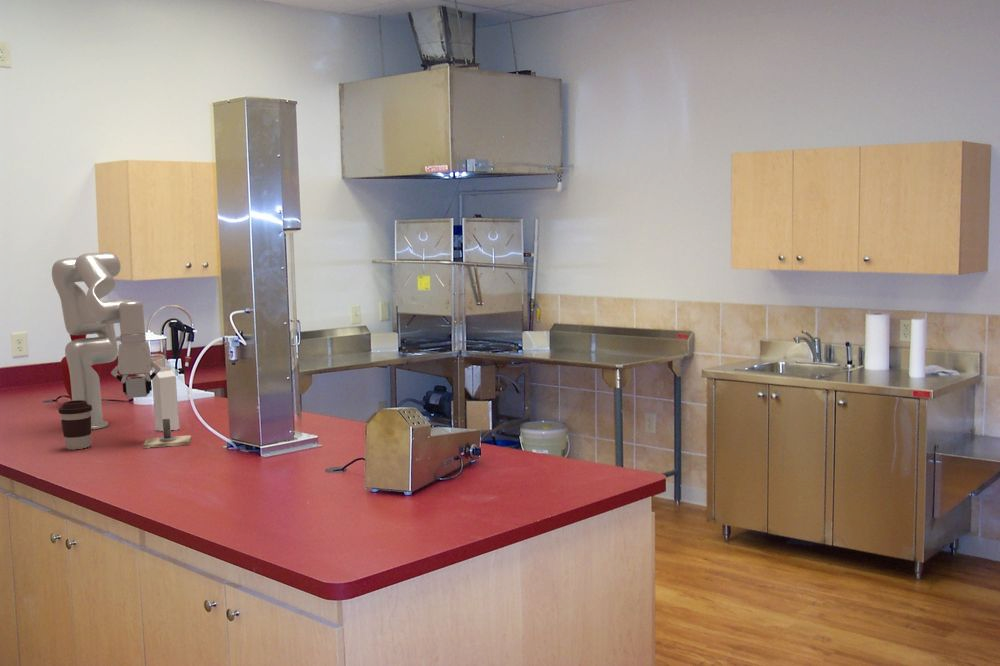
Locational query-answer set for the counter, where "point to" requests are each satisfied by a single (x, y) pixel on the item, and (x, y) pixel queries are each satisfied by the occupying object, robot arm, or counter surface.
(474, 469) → the counter surface
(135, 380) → the gray rounded cube
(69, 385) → the vase
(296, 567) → the counter surface
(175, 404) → the milk
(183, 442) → the shaft stand
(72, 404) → the coffee cup
